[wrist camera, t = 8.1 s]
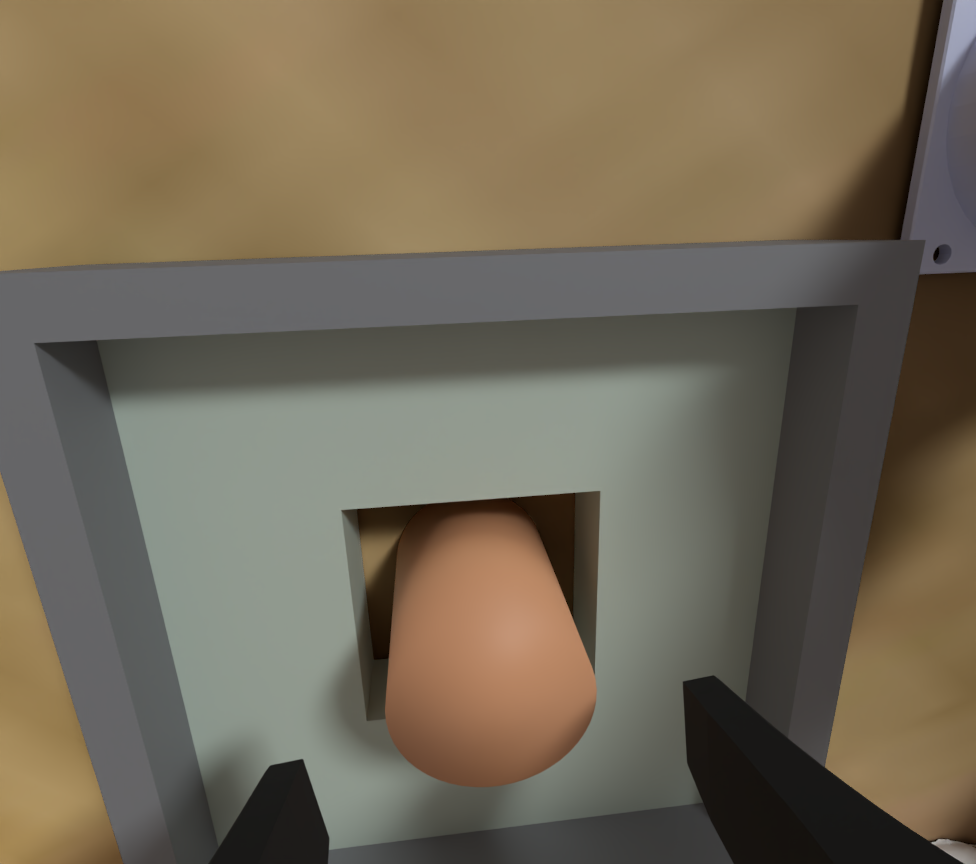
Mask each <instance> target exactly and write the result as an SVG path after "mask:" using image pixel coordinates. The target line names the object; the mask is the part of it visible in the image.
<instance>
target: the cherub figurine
mask: <svg viewBox="0 0 976 864" xmlns="http://www.w3.org/2000/svg"><path fill="white" fill-rule="evenodd" d="M931 843H932V844H934V845H935V846H937V847H938V848H940V849H942V850H943V851H945V852H946V853H948V854H949V855H951V856H953V857H954V858H956V859H957V860H959V861H961V862H962V863H964V864H976V848H974V847H976V845H972V844H969V845H968V844H965V843H962V842H958V841H952V840H951V841H950V840H949V839H946V840H945V839H938V840H937V841H936V842H931ZM972 846H974V847H972Z"/></svg>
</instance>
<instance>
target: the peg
mask: <svg viewBox="0 0 976 864" xmlns="http://www.w3.org/2000/svg"><path fill="white" fill-rule="evenodd" d="M596 696H597V687H596V679H595V675H594V672H593V668H592V666H591V663H590V661H589V658H588V656H587V653H586V651H585V648H584V646H583V643H582V641H581V638H580V636H579V633H578V631H577V628H576V625H575V623H574V620H573V618H572V615H571V613H570V610H569V608H568V605H567V603H566V600H565V598H564V595H563V593H562V590H561V588H560V585H559V583H558V580H557V578H556V575H555V573H554V570H553V568H552V565H551V563H550V560H549V558H548V555H547V553H546V550H545V548H544V545H543V543H542V540H541V538H540V535H539V533H538V530H537V528H536V526H535V524H534V522H533V521H532V519H531V518H530V516H529V515H528V514H527V513H526V512H525V511H524V510H523V509H522V508H521V507H520V506H518V505H517V504H516V503H514V502H513V501H511V500H509V499H507V498H497V499H483V500H470V501H457V502H443V503H430V504H427V505H426V506H425V507H423V508H422V509H421V510H420V511H418V512H417V513H416V514H415V516H414V517H413V518H412V519H411V520H410V522H409V523H408V524H407V526H406V528H405V529H404V531H403V533H402V536H401V538H400V541H399V545H398V550H397V561H396V574H395V587H394V600H393V612H392V625H391V638H390V651H389V663H388V676H387V689H386V702H385V716H386V724H387V727H388V731H389V734H390V736H391V738H392V740H393V743H394V744H395V746H396V747H397V749H398V750H399V752H400V753H401V754H402V755H403V756H404V757H405V759H406V760H407V761H408V762H410V763H411V764H412V765H413V766H414V767H416V768H417V769H419V770H420V771H422V772H423V773H425V774H427V775H429V776H431V777H433V778H435V779H438V780H440V781H444V782H447V783H450V784H455V785H460V786H468V787H493V786H502V785H506V784H511V783H515V782H518V781H522V780H525V779H528V778H530V777H532V776H534V775H537V774H539V773H541V772H543V771H544V770H546V769H548V768H550V767H551V766H553V765H554V764H555V763H557V762H558V761H560V760H561V759H562V758H563V757H564V756H566V755H567V754H568V753H569V752H570V751H571V750H572V749H573V748H574V747H575V745H576V744H577V743H578V742H579V741H580V739H581V738H582V736H583V735H584V733H585V732H586V730H587V728H588V726H589V724H590V722H591V719H592V716H593V713H594V710H595V705H596Z"/></svg>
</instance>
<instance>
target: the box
mask: <svg viewBox="0 0 976 864" xmlns="http://www.w3.org/2000/svg"><path fill="white" fill-rule="evenodd" d="M925 241H926V240H772V241H744V242H716V243H687V244H659V245H631V246H603V247H575V248H546V249H518V250H490V251H462V252H434V253H405V254H377V255H349V256H321V257H292V258H264V259H236V260H208V261H180V262H151V263H123V264H95V265H76V266H62V267H49V268H36V269H22V270H9V271H0V472H1V475H2V479H3V482H4V485H5V488H6V491H7V494H8V498H9V501H10V504H11V507H12V510H13V514H14V517H15V520H16V523H17V526H18V529H19V533H20V536H21V539H22V542H23V545H24V549H25V552H26V555H27V558H28V561H29V564H30V568H31V571H32V574H33V577H34V580H35V584H36V587H37V590H38V593H39V596H40V599H41V603H42V606H43V609H44V612H45V615H46V619H47V622H48V625H49V628H50V631H51V634H52V638H53V641H54V644H55V647H56V650H57V654H58V657H59V660H60V663H61V666H62V669H63V673H64V676H65V679H66V682H67V685H68V688H69V692H70V695H71V698H72V701H73V704H74V708H75V711H76V714H77V717H78V720H79V723H80V727H81V730H82V733H83V736H84V739H85V743H86V746H87V749H88V752H89V755H90V758H91V762H92V765H93V768H94V771H95V774H96V778H97V781H98V784H99V787H100V790H101V793H102V797H103V800H104V803H105V806H106V809H107V813H108V816H109V819H110V822H111V825H112V828H113V832H114V835H115V838H116V841H117V844H118V848H119V851H120V854H121V857H122V860H123V863H124V864H208V863H209V862H210V860H211V859H212V857H213V856H214V854H215V853H216V851H217V849H218V848H219V846H220V845H221V843H222V841H223V840H224V838H225V837H226V835H227V833H228V832H229V830H230V829H231V827H232V825H233V824H234V822H235V820H236V819H237V817H238V816H239V814H240V812H241V811H242V809H243V807H244V806H245V804H246V802H247V801H248V799H249V797H250V796H251V794H252V792H253V791H254V789H255V788H256V786H257V784H258V783H259V781H260V779H261V778H262V776H263V774H264V773H265V771H266V770H267V769H268V767H269V766H270V765H274V764H279V763H284V762H289V761H294V760H299V759H303V760H304V763H305V766H306V769H307V772H308V775H309V778H310V781H311V784H312V787H313V790H314V793H315V796H316V799H317V802H318V805H319V808H320V811H321V814H322V817H323V820H324V823H325V826H326V829H327V832H328V835H329V838H330V840H329V855H328V864H733V862H732V860H731V858H730V856H729V854H728V852H727V850H726V849H725V847H724V845H723V843H722V841H721V839H720V837H719V835H718V833H717V832H716V830H715V828H714V826H713V824H712V822H711V820H710V818H709V815H708V813H707V811H706V808H705V806H704V803H703V801H702V799H701V796H700V794H699V792H698V789H697V787H696V784H695V782H694V779H693V777H692V774H691V772H690V769H689V767H688V764H687V755H686V736H685V717H684V699H683V681H688V680H692V679H697V678H702V677H707V676H712V675H714V676H716V677H717V678H718V679H720V680H721V681H722V682H723V683H724V684H725V685H727V686H728V687H729V688H730V689H731V690H732V691H733V692H735V693H736V694H737V695H738V696H739V697H740V698H741V699H743V700H744V701H745V702H746V703H747V704H748V705H749V706H751V707H752V708H753V709H754V710H755V711H756V712H758V713H759V714H760V715H761V716H762V717H763V718H765V719H766V720H767V721H768V722H769V723H771V724H772V725H773V726H774V727H775V728H776V729H778V730H779V731H780V732H781V733H782V734H784V735H785V736H786V737H787V738H789V739H790V740H791V741H792V742H793V743H795V744H796V745H797V746H798V747H800V748H801V749H802V750H804V751H805V752H806V753H807V754H809V755H810V756H811V757H812V758H814V759H815V760H816V761H817V762H819V763H820V764H821V765H822V766H824V767H825V763H826V757H827V752H828V747H829V742H830V736H831V731H832V726H833V721H834V716H835V710H836V705H837V700H838V695H839V690H840V684H841V679H842V674H843V669H844V664H845V658H846V653H847V648H848V643H849V637H850V632H851V627H852V622H853V617H854V611H855V606H856V601H857V596H858V591H859V585H860V580H861V575H862V570H863V565H864V559H865V554H866V549H867V544H868V538H869V533H870V528H871V523H872V518H873V512H874V507H875V502H876V497H877V492H878V486H879V481H880V476H881V471H882V466H883V460H884V455H885V450H886V445H887V439H888V434H889V429H890V424H891V419H892V413H893V408H894V403H895V398H896V393H897V387H898V382H899V377H900V372H901V367H902V361H903V356H904V351H905V346H906V340H907V335H908V330H909V325H910V320H911V314H912V309H913V304H914V299H915V294H916V288H917V283H918V278H919V273H920V268H921V262H922V257H923V252H924V247H925ZM564 493H575V538H574V599H573V620H574V623H575V625H576V628H577V631H578V633H579V636H580V638H581V641H582V643H583V646H584V648H585V651H586V653H587V656H588V658H589V661H590V663H591V666H592V668H593V672H594V675H595V679H596V687H597V696H596V705H595V710H594V713H593V716H592V719H591V722H590V724H589V726H588V728H587V730H586V732H585V733H584V735H583V736H582V738H581V739H580V741H579V742H578V743H577V744H576V745H575V747H574V748H573V749H572V750H571V751H570V752H569V753H568V754H567V755H566V756H564V757H563V758H562V759H561V760H560V761H558V762H557V763H555V764H554V765H553V766H551V767H550V768H548V769H546V770H544V771H543V772H541V773H539V774H537V775H534V776H532V777H530V778H528V779H525V780H522V781H518V782H515V783H511V784H506V785H502V786H493V787H468V786H460V785H455V784H450V783H447V782H444V781H440V780H438V779H435V778H433V777H431V776H429V775H427V774H425V773H423V772H422V771H420V770H419V769H417V768H416V767H414V766H413V765H412V764H411V763H410V762H408V761H407V760H406V759H405V757H404V756H403V755H402V754H401V753H400V752H399V750H398V749H397V747H396V746H395V744H394V743H393V740H392V738H391V736H390V734H389V731H388V727H387V724H386V716H385V702H386V689H387V676H388V663H389V658H388V659H378V660H374V658H373V649H372V640H371V631H370V623H369V614H368V605H367V596H366V587H365V578H364V569H363V560H362V551H361V542H360V533H359V524H358V515H357V509H362V508H376V507H389V506H403V505H416V504H430V503H443V502H457V501H470V500H483V499H497V498H510V497H524V496H537V495H551V494H564Z"/></svg>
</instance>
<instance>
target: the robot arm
mask: <svg viewBox="0 0 976 864" xmlns="http://www.w3.org/2000/svg"><path fill="white" fill-rule="evenodd" d="M901 240H926V241H925V247H924V252H923V257H922V262H921V268H920V273H919V274H939V273H963V272H976V0H943V5H942V11H941V17H940V22H939V28H938V33H937V39H936V45H935V50H934V56H933V61H932V67H931V72H930V78H929V84H928V89H927V95H926V100H925V106H924V112H923V117H922V123H921V128H920V134H919V139H918V145H917V151H916V156H915V162H914V167H913V173H912V179H911V184H910V190H909V195H908V201H907V206H906V212H905V218H904V223H903V229H902V234H901ZM937 247H938V248H939V256H938V258H937V259H936V260H935V261H934V260H933V254H934V251H935V249H936V248H937ZM683 699H684V717H685V736H686V755H687V764H688V767H689V769H690V772H691V774H692V777H693V779H694V782H695V784H696V787H697V789H698V792H699V794H700V796H701V799H702V801H703V803H704V806H705V808H706V811H707V813H708V815H709V818H710V820H711V822H712V824H713V826H714V828H715V830H716V832H717V833H718V835H719V837H720V839H721V841H722V843H723V845H724V847H725V849H726V850H727V852H728V854H729V856H730V858H731V860H732V862H733V864H964V863H962V862H961V861H959V860H957V859H956V858H954V857H953V856H951V855H949V854H948V853H946V852H945V851H943V850H942V849H940V848H938V847H937V846H935V845H934V844H932V843H931V842H929V841H928V840H926V839H925V838H923V837H922V836H920V835H918V834H917V833H915V832H914V831H912V830H911V829H909V828H908V827H906V826H905V825H903V824H902V823H901V822H899V821H898V820H896V819H895V818H893V817H892V816H890V815H889V814H888V813H886V812H885V811H883V810H882V809H880V808H879V807H878V806H876V805H875V804H873V803H872V802H871V801H869V800H868V799H867V798H865V797H864V796H862V795H861V794H860V793H858V792H857V791H856V790H854V789H853V788H851V787H850V786H849V785H847V784H846V783H845V782H843V781H842V780H841V779H839V778H838V777H837V776H835V775H834V774H833V773H831V772H830V771H829V770H828V769H826V768H825V767H824V766H822V765H821V764H820V763H819V762H817V761H816V760H815V759H814V758H812V757H811V756H810V755H809V754H807V753H806V752H805V751H804V750H802V749H801V748H800V747H798V746H797V745H796V744H795V743H793V742H792V741H791V740H790V739H789V738H787V737H786V736H785V735H784V734H782V733H781V732H780V731H779V730H778V729H776V728H775V727H774V726H773V725H772V724H771V723H769V722H768V721H767V720H766V719H765V718H763V717H762V716H761V715H760V714H759V713H758V712H756V711H755V710H754V709H753V708H752V707H751V706H749V705H748V704H747V703H746V702H745V701H744V700H743V699H741V698H740V697H739V696H738V695H737V694H736V693H735V692H733V691H732V690H731V689H730V688H729V687H728V686H727V685H725V684H724V683H723V682H722V681H721V680H720V679H718V678H717V677H716V676H714V675H712V676H707V677H702V678H697V679H692V680H688V681H683ZM329 840H330V838H329V835H328V832H327V829H326V826H325V823H324V820H323V817H322V814H321V811H320V808H319V805H318V802H317V799H316V796H315V793H314V790H313V787H312V784H311V781H310V778H309V775H308V772H307V769H306V766H305V763H304V760H303V759H299V760H294V761H289V762H284V763H279V764H274V765H270V766H269V767H268V769H267V770H266V771H265V773H264V774H263V776H262V778H261V779H260V781H259V783H258V784H257V786H256V788H255V789H254V791H253V792H252V794H251V796H250V797H249V799H248V801H247V802H246V804H245V806H244V807H243V809H242V811H241V812H240V814H239V816H238V817H237V819H236V820H235V822H234V824H233V825H232V827H231V829H230V830H229V832H228V833H227V835H226V837H225V838H224V840H223V841H222V843H221V845H220V846H219V848H218V849H217V851H216V853H215V854H214V856H213V857H212V859H211V860H210V862H209V863H208V864H328V855H329Z"/></svg>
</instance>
